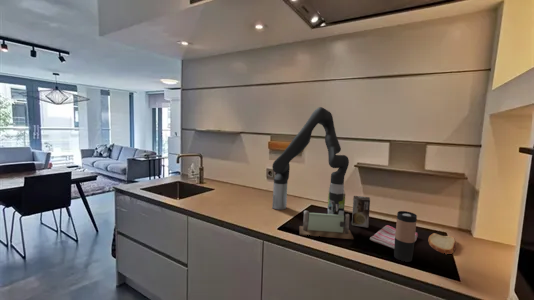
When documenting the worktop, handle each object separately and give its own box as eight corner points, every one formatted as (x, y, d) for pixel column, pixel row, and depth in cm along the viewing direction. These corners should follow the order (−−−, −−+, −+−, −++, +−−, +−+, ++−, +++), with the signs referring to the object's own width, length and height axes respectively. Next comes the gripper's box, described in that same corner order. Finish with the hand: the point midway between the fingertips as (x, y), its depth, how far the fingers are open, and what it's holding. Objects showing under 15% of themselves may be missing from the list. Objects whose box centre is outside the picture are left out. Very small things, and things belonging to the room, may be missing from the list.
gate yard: (299, 234, 135) (300, 214, 134) (299, 227, 145) (300, 207, 144) (353, 239, 132) (355, 218, 131) (349, 231, 142) (350, 211, 141)
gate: (308, 230, 138) (309, 213, 137) (308, 228, 140) (309, 212, 139) (343, 232, 137) (344, 216, 136) (342, 231, 138) (343, 215, 137)
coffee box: (367, 223, 154) (370, 197, 152) (368, 228, 147) (370, 200, 146) (351, 221, 156) (353, 195, 155) (351, 225, 150) (353, 198, 149)
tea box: (344, 216, 165) (345, 193, 163) (327, 214, 167) (329, 192, 165) (342, 209, 179) (343, 187, 178) (327, 207, 181) (328, 186, 180)
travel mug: (389, 253, 119) (393, 210, 117) (405, 253, 119) (409, 210, 117) (399, 262, 111) (404, 217, 109) (416, 262, 112) (421, 217, 110)
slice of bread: (445, 256, 119) (446, 248, 119) (414, 238, 136) (415, 231, 136) (476, 253, 123) (477, 245, 123) (442, 236, 141) (443, 229, 140)
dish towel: (418, 238, 137) (419, 232, 136) (405, 254, 120) (406, 246, 119) (384, 229, 148) (385, 223, 148) (368, 241, 131) (368, 234, 131)
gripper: (328, 187, 150) (326, 217, 152) (330, 194, 137) (328, 225, 139) (341, 188, 149) (339, 218, 151) (345, 195, 136) (343, 227, 138)
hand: (334, 221), depth 145 cm, fingers closed
